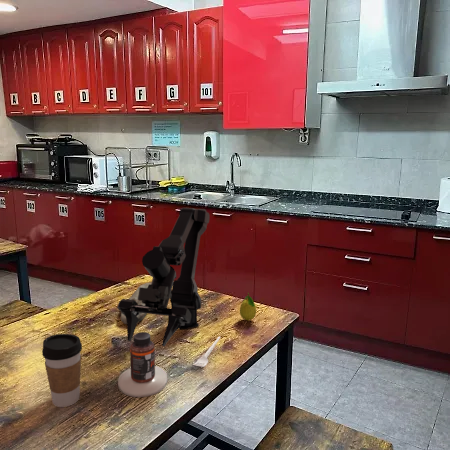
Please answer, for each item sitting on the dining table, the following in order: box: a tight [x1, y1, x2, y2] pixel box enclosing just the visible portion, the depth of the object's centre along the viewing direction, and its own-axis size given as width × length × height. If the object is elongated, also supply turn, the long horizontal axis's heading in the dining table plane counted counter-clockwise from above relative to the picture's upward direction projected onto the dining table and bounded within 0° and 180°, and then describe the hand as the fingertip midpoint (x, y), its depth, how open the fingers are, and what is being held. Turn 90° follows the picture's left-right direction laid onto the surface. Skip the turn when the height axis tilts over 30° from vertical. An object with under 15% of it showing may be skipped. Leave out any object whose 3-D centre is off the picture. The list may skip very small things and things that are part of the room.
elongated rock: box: [120, 281, 152, 325], centre depth 151 cm, size 35×5×10 cm
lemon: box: [239, 292, 257, 322], centre depth 138 cm, size 7×6×10 cm
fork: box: [192, 336, 221, 368], centre depth 118 cm, size 3×20×2 cm, turn 162°
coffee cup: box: [41, 333, 83, 408], centre depth 95 cm, size 8×8×15 cm
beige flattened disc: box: [117, 365, 168, 398], centre depth 104 cm, size 12×12×1 cm
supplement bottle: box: [129, 331, 156, 383], centre depth 103 cm, size 6×6×11 cm
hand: (145, 343), depth 104 cm, fingers open, 9 cm apart
